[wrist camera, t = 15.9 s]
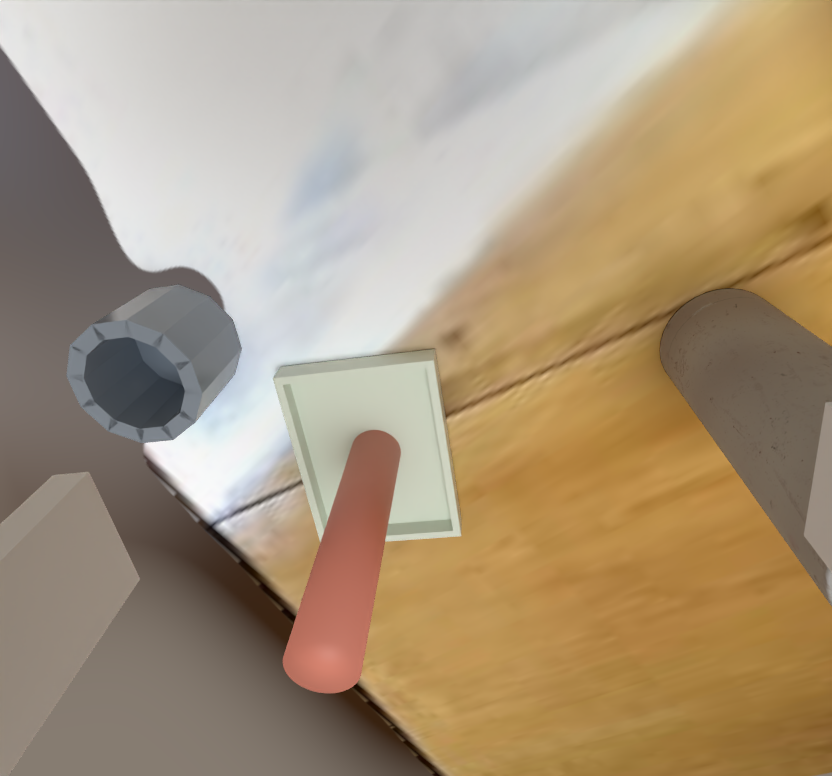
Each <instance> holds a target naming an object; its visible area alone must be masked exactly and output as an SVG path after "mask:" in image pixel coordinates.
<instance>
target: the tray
mask: <svg viewBox="0 0 832 776" xmlns="http://www.w3.org/2000/svg"><path fill="white" fill-rule="evenodd" d="M273 381H274V384H275V388H276V391H277V395H278V398H279V401H280V405H281V408H282V412H283V415H284V419H285V422H286V426H287V429H288V432H289V436H290V439H291V443H292V446H293V450H294V453H295V457H296V460H297V463H298V467H299V470H300V474H301V477H302V481H303V484H304V487H305V491H306V494H307V498H308V501H309V505H310V508H311V512H312V515H313V518H314V522H315V525H316V529H317V532H318V536H319V539H320V543H321V539H322V536H323V533H324V530H325V527H326V524H327V521H328V518H329V515H330V512H331V509H332V506H333V502H334V499H335V496H336V493H337V490H338V487H339V484H340V481H341V478H342V475H343V472H344V469H345V465H346V462H347V459H348V456H349V453H350V450H351V447H352V444H353V441H354V440H355V438H356V437H357V436H358V435H359V434H361V433H363V432H365V431H368V430H380V431H384V432H386V433H388V434H390V435H392V436H393V437H394V438H395V439H396V440H397V442H398V443H399V446H400V449H401V456H400V462H399V467H398V473H397V478H396V484H395V490H394V495H393V501H392V506H391V512H390V517H389V523H388V528H387V534H386V539H385V541H399V540H413V539H427V538H441V537H455V536H461V514H460V507H459V501H458V494H457V488H456V481H455V475H454V468H453V462H452V455H451V449H450V442H449V436H448V429H447V423H446V416H445V410H444V403H443V397H442V391H441V384H440V378H439V371H438V365H437V358H436V352H435V349H429V350H421V351H412V352H404V353H395V354H386V355H378V356H369V357H360V358H352V359H343V360H334V361H326V362H317V363H308V364H300V365H291V366H282V367H280V369H279V370H278V372H277V373H276V375H275V376H274V378H273Z"/></svg>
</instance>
